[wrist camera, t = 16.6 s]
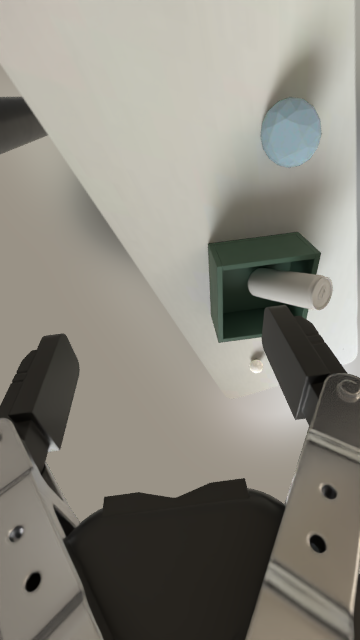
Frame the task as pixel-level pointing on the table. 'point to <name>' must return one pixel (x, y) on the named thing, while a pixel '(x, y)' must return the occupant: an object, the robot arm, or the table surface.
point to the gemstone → (291, 132)
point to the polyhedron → (256, 366)
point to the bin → (234, 271)
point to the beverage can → (291, 287)
